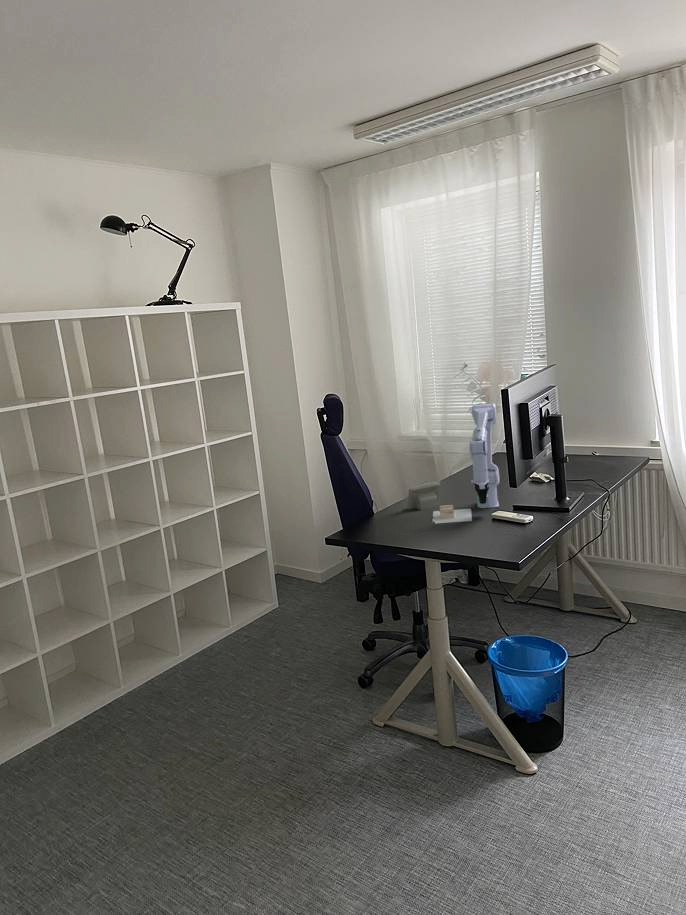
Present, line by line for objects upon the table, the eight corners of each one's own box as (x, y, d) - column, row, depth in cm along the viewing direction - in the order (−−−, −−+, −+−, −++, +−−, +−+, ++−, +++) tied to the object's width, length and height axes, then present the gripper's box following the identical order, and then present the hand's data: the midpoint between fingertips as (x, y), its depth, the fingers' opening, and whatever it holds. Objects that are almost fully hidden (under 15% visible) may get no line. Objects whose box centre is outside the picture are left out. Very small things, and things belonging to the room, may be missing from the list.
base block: (440, 514, 300) (439, 505, 299) (453, 513, 299) (453, 504, 298) (440, 518, 295) (439, 509, 294) (453, 517, 294) (453, 508, 293)
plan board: (433, 512, 307) (433, 511, 307) (470, 509, 304) (470, 508, 304) (432, 524, 289) (432, 523, 289) (472, 521, 287) (472, 520, 286)
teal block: (477, 504, 293) (476, 494, 292) (488, 503, 292) (487, 493, 292) (477, 507, 289) (477, 497, 288) (489, 506, 288) (488, 496, 287)
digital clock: (438, 502, 322) (436, 479, 320) (446, 506, 313) (443, 483, 311) (404, 508, 319) (402, 485, 317) (411, 512, 310) (408, 489, 308)
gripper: (469, 466, 295) (472, 497, 298) (470, 474, 281) (473, 507, 284) (487, 465, 294) (489, 496, 297) (488, 473, 280) (491, 506, 283)
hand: (482, 501), depth 290 cm, fingers closed on teal block, 4 cm apart
